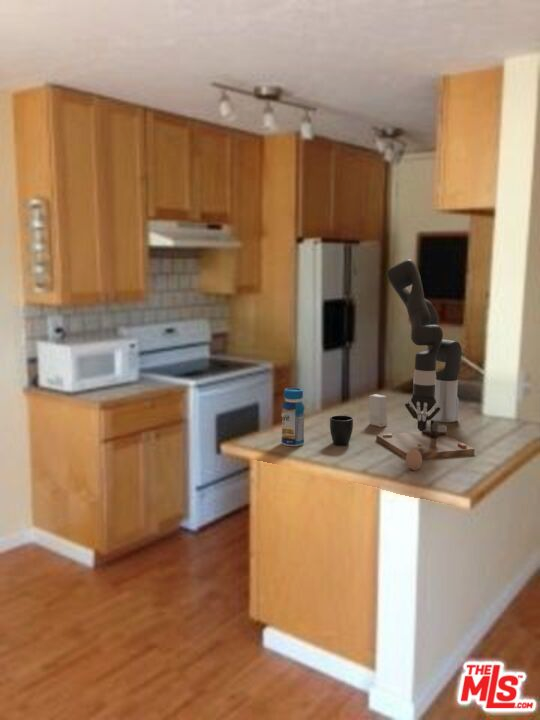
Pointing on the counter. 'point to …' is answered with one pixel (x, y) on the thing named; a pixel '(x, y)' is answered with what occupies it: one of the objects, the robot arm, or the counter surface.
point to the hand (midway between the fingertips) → (422, 430)
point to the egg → (413, 459)
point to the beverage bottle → (293, 417)
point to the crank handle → (435, 429)
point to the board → (424, 445)
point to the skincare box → (378, 410)
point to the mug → (341, 429)
